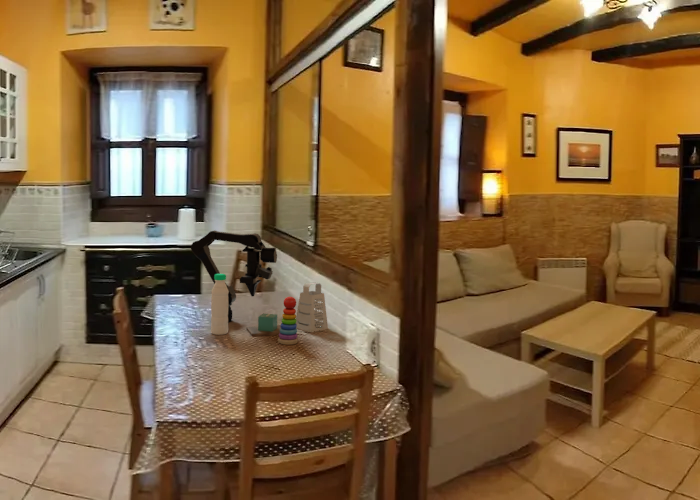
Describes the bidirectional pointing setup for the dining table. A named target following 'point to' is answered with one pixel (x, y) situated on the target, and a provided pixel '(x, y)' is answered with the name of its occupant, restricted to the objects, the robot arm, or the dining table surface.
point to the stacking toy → (288, 323)
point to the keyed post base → (255, 332)
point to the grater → (311, 309)
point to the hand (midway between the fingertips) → (252, 296)
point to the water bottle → (219, 306)
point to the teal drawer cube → (267, 322)
